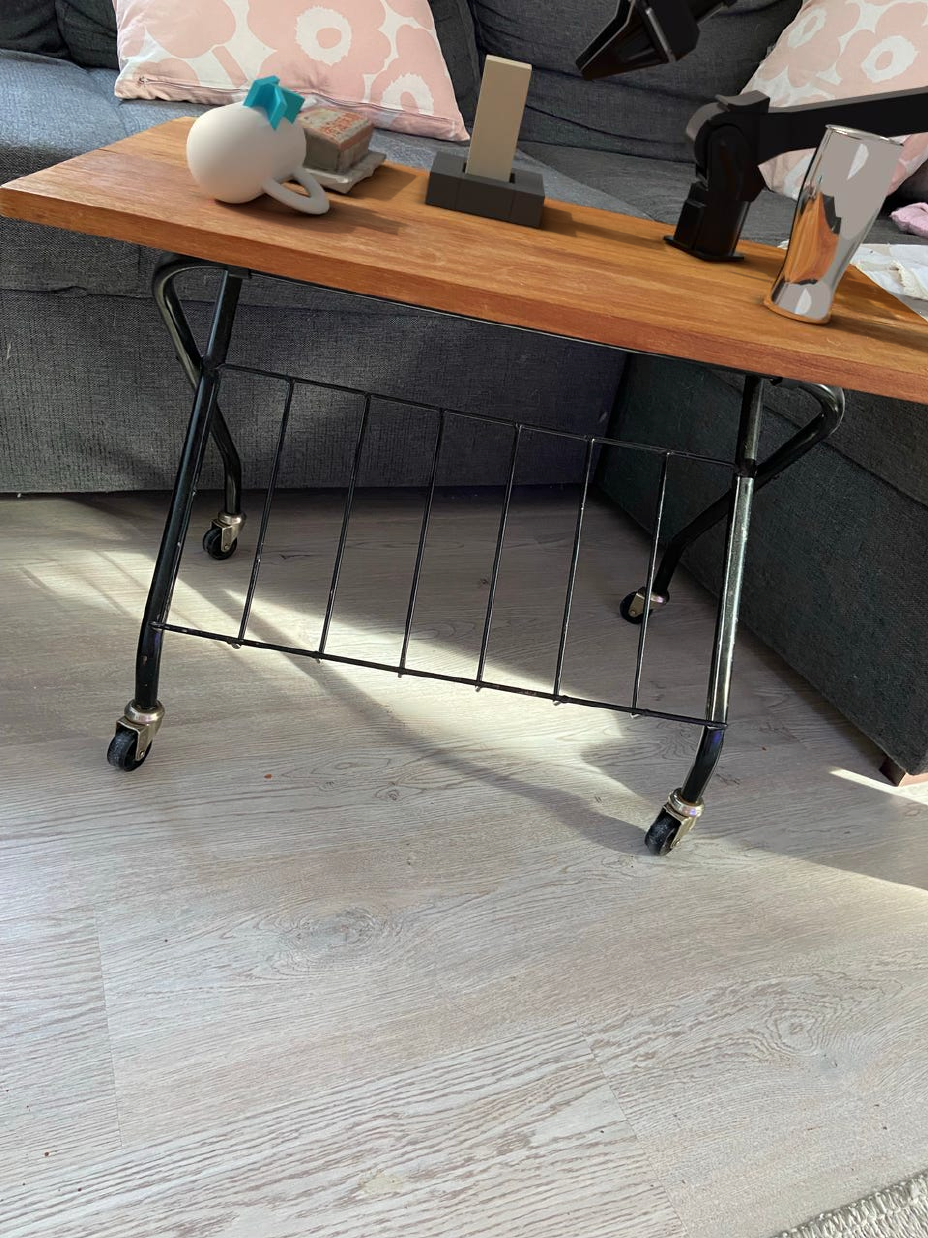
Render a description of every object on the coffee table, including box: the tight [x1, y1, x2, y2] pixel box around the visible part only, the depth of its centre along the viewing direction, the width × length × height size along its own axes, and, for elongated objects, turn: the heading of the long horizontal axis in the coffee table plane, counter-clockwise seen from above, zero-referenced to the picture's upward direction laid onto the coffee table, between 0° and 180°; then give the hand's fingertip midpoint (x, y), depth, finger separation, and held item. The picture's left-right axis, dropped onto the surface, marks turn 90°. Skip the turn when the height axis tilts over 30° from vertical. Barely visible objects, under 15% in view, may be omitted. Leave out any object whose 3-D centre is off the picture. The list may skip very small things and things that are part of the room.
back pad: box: [465, 54, 533, 182], centre depth 98 cm, size 4×4×13 cm
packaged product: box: [290, 105, 388, 194], centre depth 99 cm, size 18×5×10 cm
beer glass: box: [763, 125, 905, 325], centre depth 86 cm, size 7×7×15 cm
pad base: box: [424, 150, 546, 229], centre depth 101 cm, size 11×11×3 cm
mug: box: [185, 74, 330, 215], centre depth 83 cm, size 12×9×12 cm
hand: (579, 70), depth 94 cm, fingers open, 9 cm apart
